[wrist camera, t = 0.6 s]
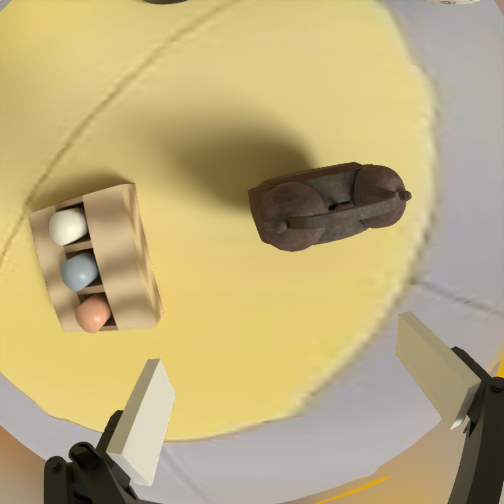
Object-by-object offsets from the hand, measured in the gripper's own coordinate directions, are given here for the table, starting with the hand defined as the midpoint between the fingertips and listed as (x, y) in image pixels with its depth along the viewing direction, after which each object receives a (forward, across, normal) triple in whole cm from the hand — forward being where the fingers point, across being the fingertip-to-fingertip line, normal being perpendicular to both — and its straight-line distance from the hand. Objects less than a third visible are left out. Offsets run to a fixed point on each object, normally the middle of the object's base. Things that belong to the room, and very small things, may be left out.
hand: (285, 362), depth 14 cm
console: (+26, -25, +2) cm, 37 cm away
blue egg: (+23, -25, +3) cm, 34 cm away
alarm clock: (+26, +7, +5) cm, 28 cm away
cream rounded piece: (+23, -25, +9) cm, 35 cm away
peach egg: (+23, -25, -4) cm, 34 cm away
